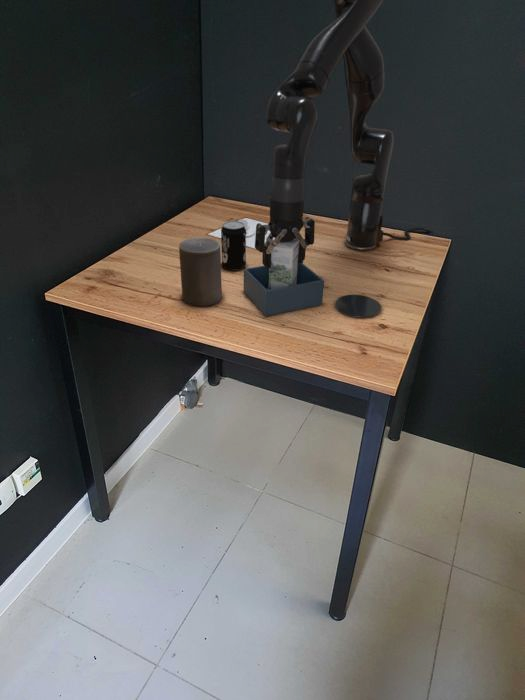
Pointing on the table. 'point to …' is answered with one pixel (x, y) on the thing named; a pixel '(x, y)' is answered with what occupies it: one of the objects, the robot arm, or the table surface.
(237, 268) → the beverage can
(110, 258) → the table surface
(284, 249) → the syrup box
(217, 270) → the pillar candle
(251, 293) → the bin
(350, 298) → the coaster
